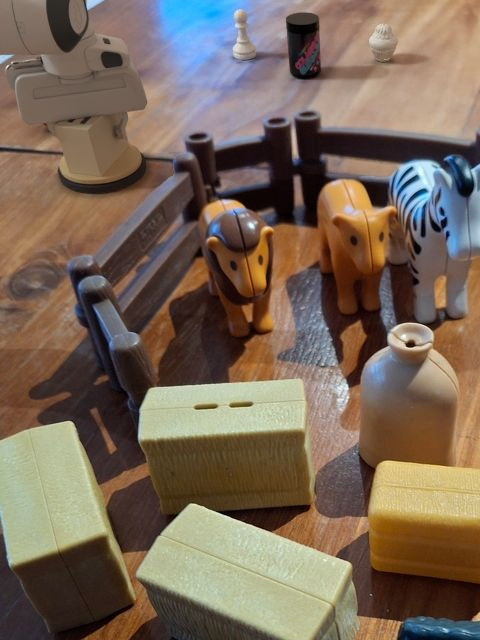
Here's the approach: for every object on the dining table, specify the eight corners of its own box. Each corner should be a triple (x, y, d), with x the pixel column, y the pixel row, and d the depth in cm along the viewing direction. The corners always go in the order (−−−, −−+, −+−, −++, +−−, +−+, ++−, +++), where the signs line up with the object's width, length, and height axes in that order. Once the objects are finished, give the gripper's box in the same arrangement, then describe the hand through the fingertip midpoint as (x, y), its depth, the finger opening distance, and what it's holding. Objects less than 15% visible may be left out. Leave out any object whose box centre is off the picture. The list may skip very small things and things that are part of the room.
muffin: (395, 65, 155) (397, 29, 150) (367, 64, 156) (367, 28, 150) (397, 53, 159) (399, 18, 154) (370, 52, 160) (370, 17, 154)
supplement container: (288, 80, 151) (284, 24, 143) (290, 66, 155) (286, 12, 147) (321, 79, 151) (319, 24, 143) (321, 66, 155) (319, 11, 147)
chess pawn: (239, 49, 161) (234, 4, 154) (260, 52, 160) (255, 7, 153) (229, 58, 158) (223, 12, 151) (250, 61, 157) (245, 15, 150)
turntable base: (66, 201, 121) (64, 194, 121) (54, 160, 130) (51, 153, 129) (155, 182, 125) (153, 176, 124) (136, 144, 134) (135, 137, 133)
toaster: (120, 188, 121) (106, 136, 114) (45, 178, 123) (26, 126, 117) (154, 149, 130) (143, 98, 123) (84, 140, 132) (69, 89, 125)
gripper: (0, 69, 109) (31, 159, 119) (138, 53, 113) (156, 141, 123) (0, 54, 112) (29, 142, 123) (132, 38, 117) (150, 125, 127)
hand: (94, 141), depth 123 cm, fingers open, 8 cm apart
